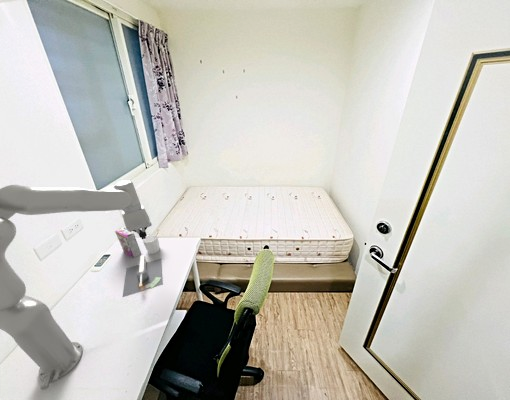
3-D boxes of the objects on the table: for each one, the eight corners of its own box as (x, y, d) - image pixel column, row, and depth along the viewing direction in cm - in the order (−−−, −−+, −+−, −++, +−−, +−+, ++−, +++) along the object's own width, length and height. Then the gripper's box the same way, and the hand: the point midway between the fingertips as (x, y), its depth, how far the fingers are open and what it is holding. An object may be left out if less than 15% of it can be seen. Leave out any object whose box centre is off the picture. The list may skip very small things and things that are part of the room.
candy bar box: (123, 253, 133) (114, 231, 125) (131, 248, 136) (123, 226, 128) (134, 259, 127) (125, 237, 119) (142, 254, 131) (134, 232, 123)
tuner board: (163, 286, 110) (162, 284, 109) (123, 299, 104) (122, 297, 103) (161, 260, 126) (161, 258, 125) (127, 269, 120) (126, 268, 120)
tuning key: (148, 289, 106) (146, 283, 104) (137, 293, 105) (134, 287, 103) (149, 259, 125) (147, 254, 123) (139, 262, 123) (137, 256, 121)
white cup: (163, 250, 133) (159, 237, 128) (150, 257, 128) (146, 244, 123) (157, 245, 138) (153, 232, 133) (145, 251, 133) (140, 238, 128)
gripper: (112, 214, 96) (126, 246, 105) (149, 206, 101) (159, 237, 110) (114, 206, 102) (128, 237, 111) (149, 199, 107) (159, 229, 116)
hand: (143, 237), depth 111 cm, fingers closed
